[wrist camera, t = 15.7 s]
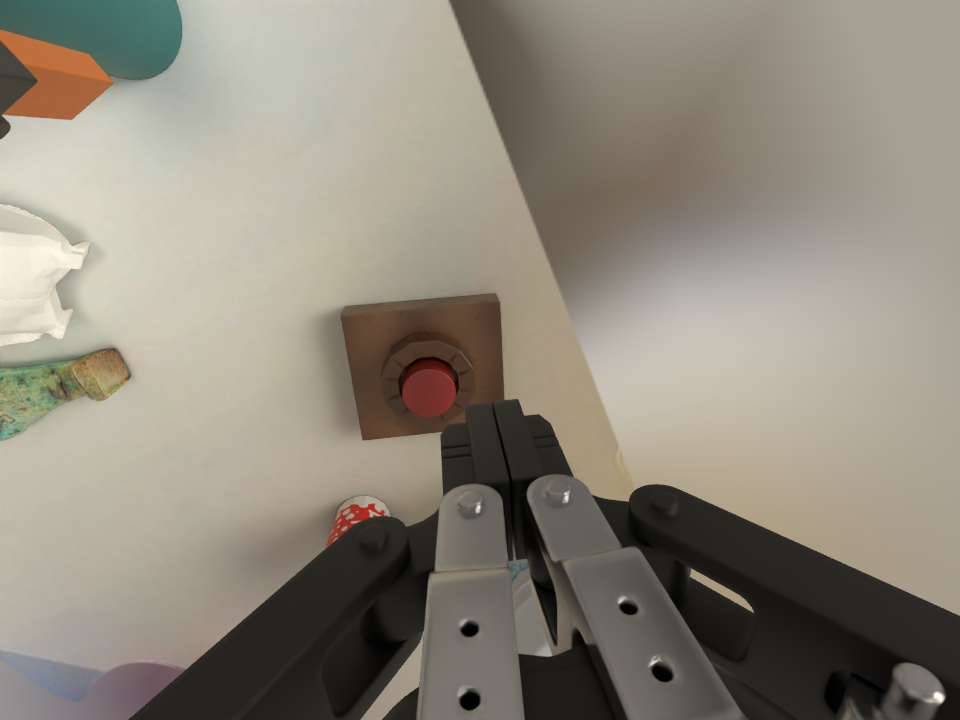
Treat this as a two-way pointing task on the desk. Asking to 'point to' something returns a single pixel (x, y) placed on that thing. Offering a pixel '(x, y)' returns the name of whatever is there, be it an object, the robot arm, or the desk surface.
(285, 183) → the desk surface
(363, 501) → the beverage cup
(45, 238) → the penguin
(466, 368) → the button box
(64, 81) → the spray trigger
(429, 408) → the button
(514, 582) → the bottle
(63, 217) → the desk surface
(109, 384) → the figurine
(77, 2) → the spray bottle
